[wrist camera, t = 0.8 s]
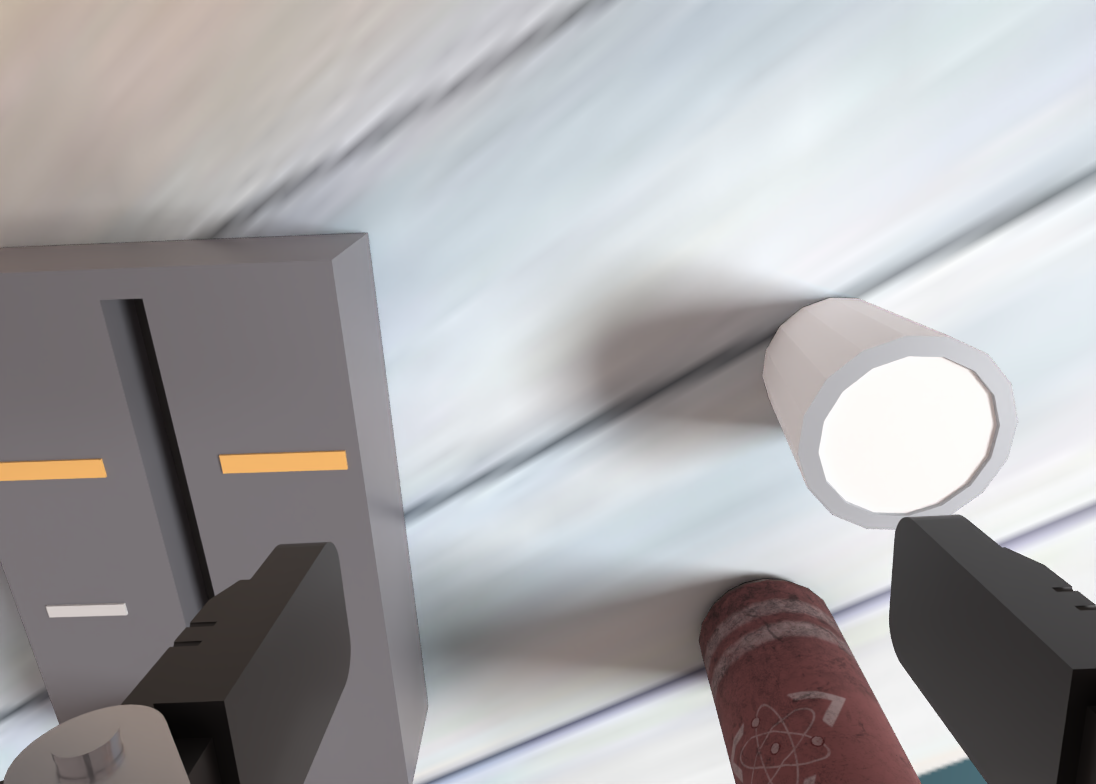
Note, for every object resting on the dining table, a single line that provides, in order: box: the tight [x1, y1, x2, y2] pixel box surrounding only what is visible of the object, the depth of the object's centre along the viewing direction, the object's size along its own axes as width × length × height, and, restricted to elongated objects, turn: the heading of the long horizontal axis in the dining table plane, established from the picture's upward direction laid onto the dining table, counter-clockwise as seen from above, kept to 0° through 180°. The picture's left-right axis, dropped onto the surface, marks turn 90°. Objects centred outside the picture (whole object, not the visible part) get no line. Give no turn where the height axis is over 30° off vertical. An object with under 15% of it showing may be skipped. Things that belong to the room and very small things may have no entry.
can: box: [699, 579, 921, 784], centre depth 29 cm, size 6×6×14 cm
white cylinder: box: [762, 298, 1018, 530], centre depth 27 cm, size 7×7×7 cm
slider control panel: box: [0, 233, 428, 784], centre depth 31 cm, size 23×14×5 cm, turn 2°
